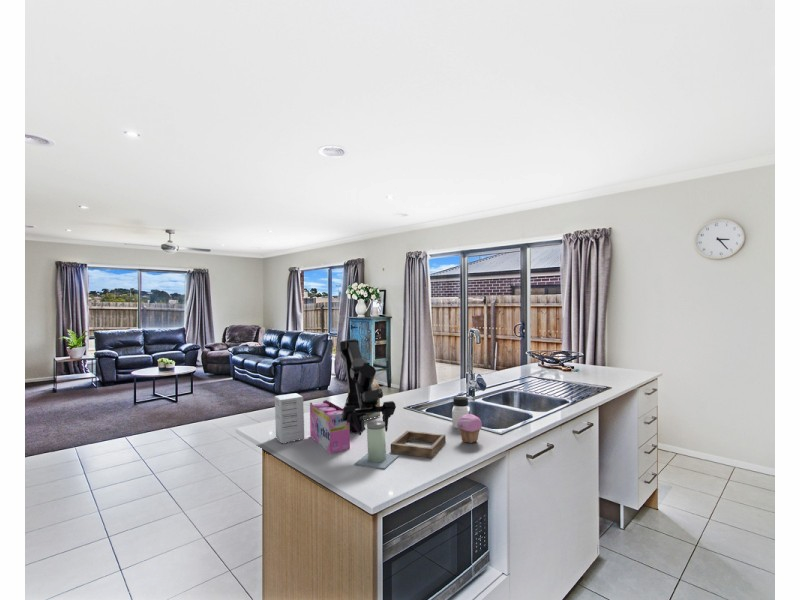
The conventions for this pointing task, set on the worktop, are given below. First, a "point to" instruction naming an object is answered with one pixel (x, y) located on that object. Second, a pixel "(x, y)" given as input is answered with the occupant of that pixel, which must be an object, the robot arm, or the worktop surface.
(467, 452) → the worktop surface
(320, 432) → the gum box
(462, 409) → the medicine bottle
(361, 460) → the rubber mat
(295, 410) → the supplement box
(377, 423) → the plastic jar
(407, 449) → the walnut frame
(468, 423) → the cupcake
